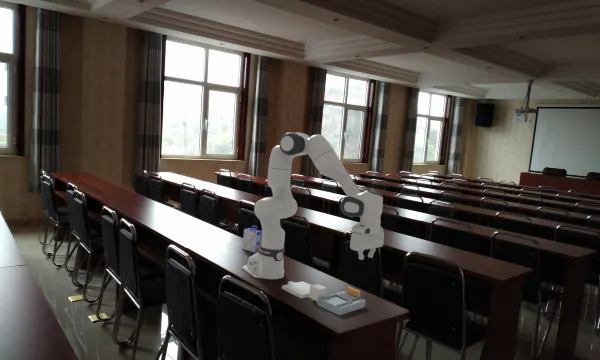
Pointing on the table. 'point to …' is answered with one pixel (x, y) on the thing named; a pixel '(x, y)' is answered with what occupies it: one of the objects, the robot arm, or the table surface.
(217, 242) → the table surface
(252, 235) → the ink cartridge box
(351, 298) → the shutter
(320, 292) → the white block
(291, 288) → the mounting plate
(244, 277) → the table surface
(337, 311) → the socket
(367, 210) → the robot arm
